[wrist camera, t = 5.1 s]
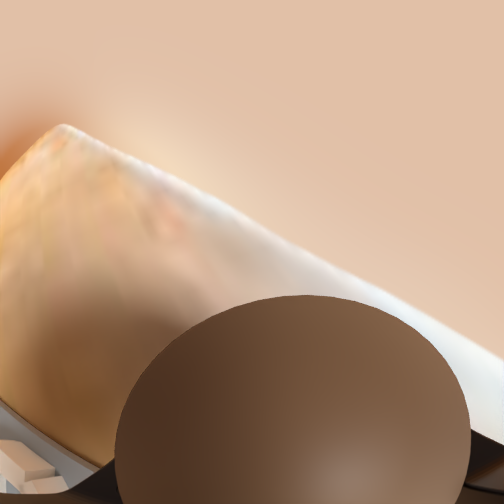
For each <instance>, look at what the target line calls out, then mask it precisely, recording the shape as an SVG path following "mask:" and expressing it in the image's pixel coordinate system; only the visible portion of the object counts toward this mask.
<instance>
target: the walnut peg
mask: <svg viewBox="0 0 504 504" xmlns="http://www.w3.org/2000/svg"><path fill="white" fill-rule="evenodd" d="M470 448H471V428H470V419H469V413H468V409H467V405H466V401H465V397H464V394H463V392H462V389H461V387H460V385H459V382H458V380H457V378H456V376H455V374H454V373H453V371H452V369H451V368H450V366H449V365H448V363H447V362H446V360H445V359H444V358H443V356H442V355H441V354H440V353H439V352H438V351H437V349H436V348H435V347H434V346H433V345H432V344H431V343H430V342H429V341H428V340H427V339H426V338H425V337H423V336H422V335H421V334H420V333H419V332H418V331H416V330H415V329H414V328H412V327H411V326H409V325H407V324H406V323H404V322H403V321H401V320H400V319H398V318H396V317H394V316H392V315H390V314H388V313H386V312H384V311H382V310H379V309H377V308H374V307H371V306H368V305H365V304H362V303H359V302H356V301H351V300H346V299H341V298H335V297H328V296H313V295H299V296H282V297H275V298H269V299H263V300H258V301H254V302H251V303H247V304H244V305H240V306H236V307H234V308H231V309H229V310H226V311H224V312H221V313H219V314H216V315H214V316H212V317H210V318H208V319H207V320H205V321H203V322H201V323H199V324H197V325H196V326H194V327H192V328H191V329H189V330H188V331H186V332H185V333H184V334H182V335H181V336H180V337H178V338H177V339H175V340H174V341H173V342H172V343H171V344H169V345H168V346H167V347H166V348H165V349H164V350H163V351H162V352H161V353H160V354H159V355H158V356H157V357H156V358H155V359H154V360H153V361H152V363H151V364H150V365H149V366H148V367H147V369H146V370H145V371H144V372H143V373H142V375H141V376H140V378H139V380H138V381H137V383H136V384H135V386H134V388H133V389H132V391H131V393H130V395H129V397H128V400H127V402H126V404H125V406H124V409H123V411H122V414H121V418H120V421H119V425H118V429H117V434H116V442H115V473H116V479H117V484H118V489H119V493H120V496H121V499H122V502H123V504H455V502H456V500H457V498H458V496H459V494H460V492H461V489H462V486H463V483H464V480H465V477H466V474H467V469H468V464H469V458H470Z"/></svg>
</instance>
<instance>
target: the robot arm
mask: <svg viewBox="0 0 504 504" xmlns="http://www.w3.org/2000/svg"><path fill="white" fill-rule="evenodd" d="M0 504H123V502H122V499H121V496H120V493H119V489H118V484H117V479H116V473H115V458H114V459H113V460H111V461H110V462H109V463H107V464H106V465H105V466H103V467H102V468H101V469H99V470H98V471H96V472H95V473H93V474H92V475H90V476H89V477H87V478H86V479H84V480H83V481H81V482H80V483H78V484H77V485H75V486H74V487H72V488H70V489H68V490H66V491H63V492H59V493H51V494H13V493H1V492H0ZM455 504H504V445H502V444H500V443H498V442H496V441H494V440H492V439H490V438H488V437H486V436H484V435H482V434H480V433H478V432H476V431H474V430H472V429H471V448H470V458H469V464H468V469H467V474H466V477H465V480H464V483H463V486H462V489H461V492H460V494H459V496H458V498H457V500H456V502H455Z"/></svg>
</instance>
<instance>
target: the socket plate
mask: <svg viewBox="0 0 504 504" xmlns="http://www.w3.org/2000/svg"><path fill="white" fill-rule="evenodd" d="M99 469H100V468H98V467H96V466H94V465H93V464H91V463H89V462H87V461H85V460H84V459H82V458H80V457H79V456H77V455H75V454H73V453H72V452H70V451H69V450H67V449H65V448H64V447H62V446H61V445H59V444H58V443H56V442H55V441H53V440H52V439H50V438H49V437H47V436H46V435H44V434H43V433H42V432H40V431H39V430H37V429H36V428H35V427H33V426H32V425H31V424H29V423H28V422H27V421H25V420H24V419H23V418H22V417H20V416H19V415H18V414H17V413H15V412H14V411H13V410H12V409H10V408H9V407H8V406H7V405H6V404H5V403H3V402H2V401H1V400H0V492H1V493H13V494H51V493H59V492H63V491H66V490H68V489H70V488H72V487H74V486H75V485H77V484H78V483H80V482H81V481H83V480H84V479H86V478H87V477H89V476H90V475H92V474H93V473H95V472H96V471H98V470H99Z"/></svg>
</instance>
